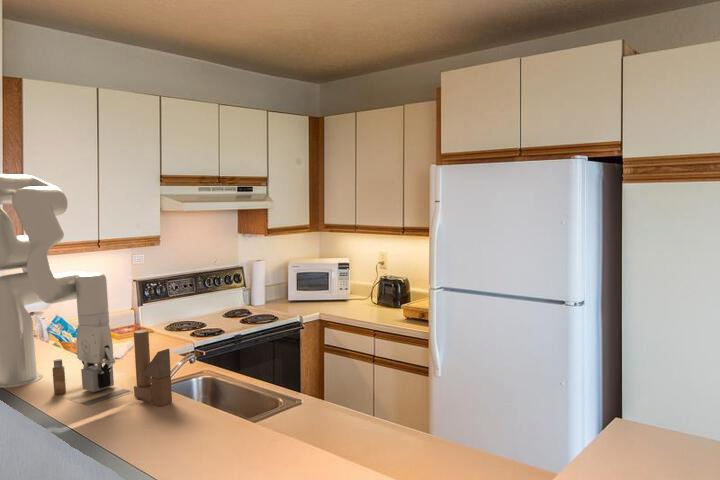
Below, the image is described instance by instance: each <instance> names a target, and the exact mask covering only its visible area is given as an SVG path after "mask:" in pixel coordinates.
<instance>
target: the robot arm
mask: <svg viewBox="0 0 720 480" xmlns="http://www.w3.org/2000/svg"><path fill="white" fill-rule="evenodd" d="M1 205H12V206H13V209H14V210H15V211H14V212H15V213H16V215H17V217H18V220H19V222H20V224H21V226H22V228H23V230H24V233H25V234H24V235H23V234H22V235H17V234H16V230H15V228H14V224H13V220H12V218H11V217H10V215H9V214H8V213H7V211H5V210H4V209H3V208H1V207H0V271H1V272H4V271H9V270H17V269H21V270H22V272H17V273H16V272H15V273H11V274H10V273H9V274H5V275H1V276H0V388H5V389H6V388H7V389H8V388H15V387H21V386H26V385H29V384H34V383H36V382H39V381H41V380H42V379H43V378H44V374H43V373H40V372H38V371H37V362H36V360H37V359H36V344H35V335H34V334H35V332H34V331H35V330H34V321H33V318H32V316H31V314H30V313H29V312H28V310H27V309H26V308H25V306H28V305H33V304H38V303H42V302H43V303H46V304H49V305H51V304H53V305H54V304H58V303H59V304H60V303H62V302H67V301H72V300H76V307H77V308H76V309H77V321H78V323H77V324H78V325H77V330H76V357H77V359H78V360H79V361H81V363H82V366H83V368H87V367H90V366H94V365H98V369H99V374H98V385H99V388H100V389H101V388H104V387H107V386H110V385H111V383H110V371H111V368H112V366H114V365H115V363H116V360H115V358H114V346H113V345H114V343H113V337H112V331H111V328H110V314H109V302H108V301H109V298H108V297H109V296H108V283H107V277H106V275H105V274H104V273H102V272H86V271H82V270H73V271H68V272H60V273H56V274H53V272H52V270H51V268H50V265H49V264H50V263H49V260H48V259H49V258H48V252H49V250H50V248H52V247H54V246H55V245H57V244H58V243H60V242H61V241H62V240H63V238H64V236H65V234H64V230H63V229H62V226H61V224H60V223H59V220H58V218H57V216H60V215H61V216H62V215H63V214H64V213H65V212H66V211H67V209H68V206H69V205H68V198H67V196H66V194H65V193H64V191H63V190H62V189H60V188H59V187H58V186H56V185H53V184H51V183H49V182H46V181H44V180H42V179H40V178H38V177H35V176H33V175H28V174H10V173H9V174H8V173H7V174H6V173H0V206H1ZM102 364H105V365H104V366H103V367H102ZM83 368H82V369H83Z"/></svg>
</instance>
